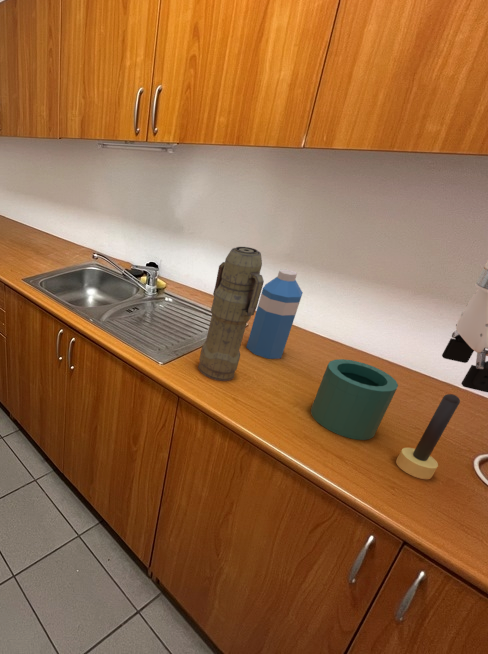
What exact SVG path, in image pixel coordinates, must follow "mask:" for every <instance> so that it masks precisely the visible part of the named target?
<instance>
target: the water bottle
mask: <svg viewBox="0 0 488 654" xmlns="http://www.w3.org/2000/svg"><path fill="white" fill-rule="evenodd" d="M297 275H298V272H296V271H295V270H291V269H287V268H286V269H283V268H282V269H281V268H280V269H279V271H278V274H277V276H276V277H274V278H273V279H272V280H270V281H268V282H267V283H265V284H264V285H263V287H262V290H261V294H260V297H259V301H258V304H257V308H256V310H255V314H254V319H253V321H252V326H251V328H250V329H251V330H250V333H249V335H248V339H247V343H246V346H245V347H246V349H247V350H249V352H251V353H252V354H253V355H255V356H258V357H262V358H265V359H268V360H272V359H273V360H274V359H277V360H278V359H282V357H283V354H284V352H285V349H286V346H287V342H288V339H289V337H290V333H291V330H292V326H293V324H294V321H295V318H296V314H297V311H298V308H299V305H300V302H301V300H302V296H303V290H302V288H301V287H300V285H299V283H298V281H297V280H296V278H297Z"/></svg>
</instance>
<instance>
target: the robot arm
mask: <svg viewBox="0 0 488 654" xmlns="http://www.w3.org/2000/svg"><path fill="white" fill-rule="evenodd" d="M474 287H475V288H476V290H475V291H474V293H473V295H472V296H471V298H470V299H469V301H468V302H467V304H466V305H465V307H464V309H463V311H462V312H461V314H460V316H459V319H458V321H457V323H456V324H455V329H456V330H454V331H452V333H451V338H449V340H448V343H447V345H446V346H445V347H444V351H443V352H442V353H441V357H442V358H443V359H444V360H449V361H455V362H458V363H459V362H460V363H464V364H466V363H469V361H470V359H471V357H472V355H473V354H474V352H475V353H476V360H475V365H474V364H471V365H470V367H469V368H468V370H467V372H466V374H465V375H464V377H463V379H462V381H461V384H460V385H462V387H464V388H466V389H471V390H474V391H475V390H476V391H479V392H483V393H488V360H487V357H488V259H487V260H486V263H484V266H483V268H482V270H481V272H480V274H479V276H478V278H477V279H476V281H475V284H474ZM486 349H487V350H486Z"/></svg>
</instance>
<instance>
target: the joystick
mask: <svg viewBox="0 0 488 654" xmlns="http://www.w3.org/2000/svg"><path fill="white" fill-rule="evenodd" d="M460 403H461V399H460V397H458V396H457V395H455V394H453V393H448V394H445V395H443V397H442V399H441V400H440V402H439V404H438V406H437V408H436V410H435V411H434V413H433V416H432V417H431V419H430V421H429V423H428V424H427V427H426V428H425V430H424V432H423V434H422V436H421V437H420V439H419V441H418V443H417V444H416V447H415V448H413V447H403V448H402V449H401V450H400V452H399V454H398V456H397V458H396V460H395V464H396V465H397V467H398V468H399V469H401V470H402V471H403V472H404V473H406V474H408V475H410V476H412V477H413V478H417V479H421V480H430V479H431V478H433V476H434V474H435V472H436V470H437V469H438V467H439V464H438V461H437V460H436V459H435V458H434V457H433V456H431V454H432V452H433V451H434V450H435V448H436V445H437V444H438V442H439V440H440V439H441V437H442V435H443V433H444V432H445V430H446V428H447V426H448V425H449V423H450V421H451V419H452V418H453V415H454V414H455V412H456V410H457V408H458V407H459V405H460Z"/></svg>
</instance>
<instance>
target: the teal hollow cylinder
mask: <svg viewBox="0 0 488 654" xmlns="http://www.w3.org/2000/svg"><path fill="white" fill-rule="evenodd" d="M320 381H321V382H320V385H319V387H318V390H317V391H316V395H315V397H314V399H313V402H312V404H311V408H310V414H311V416H312V418H313V419H314V420H315V421H316V422H317V423H318V424H319V425H321V426H322V427H323V428H325V429H327V430H328V431H330V432H332V433H334V434H336V435H339V436H341V437H344V438H348V439H350V440H351V439H352V440H357V441H367V440H371V439H372V438H374V437H375V435H376V433H377V431H378V429H379V428H380V424H381V423H382V420H383V419H384V416H385V414H386V412H387V411H388V408H389V406H390V404H391V403H392V400H393V397H394V396H395V394H396V392H397V389H398V387H399V384H398V382H397V380H396V379H395V378H393V376H391V375H390V374H388V373H387V372H386V371H384V370H382V369H379V368H378V367H376V366H373V365H370V364H368V363H365V362H361V361H356V360H353V359H352V360H351V359H343V358H340V359H339V358H338V359H333V360H329V362H328V363H327V366H326V368H325V371H324V374H323V377H322V378H321V380H320Z"/></svg>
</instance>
